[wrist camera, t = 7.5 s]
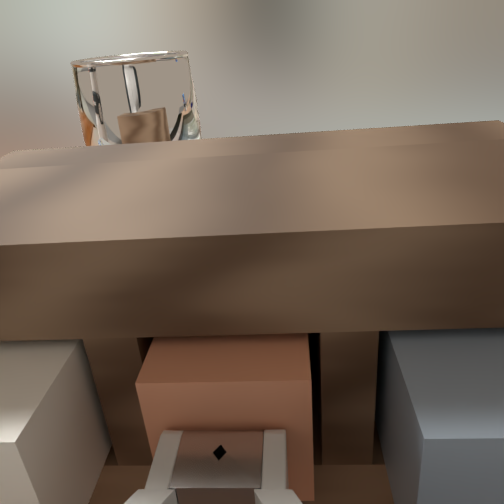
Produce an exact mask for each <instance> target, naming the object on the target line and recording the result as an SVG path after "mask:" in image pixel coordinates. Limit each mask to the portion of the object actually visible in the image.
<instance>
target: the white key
mask: <svg viewBox="0 0 504 504" xmlns="http://www.w3.org/2000/svg"><path fill="white" fill-rule="evenodd" d="M111 446H112V441H111V438H110V434H109V431H108V427H107V424H106V420H105V417H104V413H103V410H102V406H101V403H100V399H99V396H98V392H97V388H96V385H95V381H94V378H93V374H92V371H91V367H90V364H89V360H88V357H87V353H86V350H85V346H84V343H83V339H64V340H28V341H0V504H88V503H89V501H90V498H91V496H92V493H93V491H94V488H95V486H96V483H97V481H98V478H99V476H100V473H101V471H102V468H103V466H104V463H105V461H106V458H107V456H108V453H109V451H110V448H111Z"/></svg>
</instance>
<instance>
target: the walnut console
mask: <svg viewBox="0 0 504 504" xmlns="http://www.w3.org/2000/svg"><path fill="white" fill-rule="evenodd" d="M469 328H504V123H503V122H501V121H498V120H496V121H480V122H465V123H450V124H434V125H418V126H402V127H386V128H369V129H353V130H338V131H321V132H307V133H306V132H305V133H290V134H274V135H258V136H243V137H226V138H211V139H194V140H178V141H162V142H147V143H131V144H115V145H99V146H84V147H68V148H51V149H35V150H19V151H13V152H11V153H9V154H7V155H5V156H3V157H1V158H0V341H28V340H64V339H83V343H84V346H85V350H86V353H87V357H88V360H89V364H90V367H91V371H92V374H93V378H94V381H95V385H96V388H97V392H98V396H99V399H100V403H101V406H102V410H103V413H104V417H105V420H106V424H107V427H108V431H109V434H110V438H111V441H112V446H111V448H110V451H109V453H108V456H107V458H106V461H105V463H104V466H103V468H102V471H101V473H100V476H99V478H98V481H97V483H96V486H95V488H94V491H93V493H92V496H91V498H90V501H89V503H88V504H124V503H125V502H126V501H127V500H128V499H129V498H130V497H131V496H132V495H133V494H134V493H135V492H136V491H137V490H138V489H145V485H146V482H147V479H148V475H149V472H150V468H151V465H152V462H153V458H152V453H151V449H150V445H149V441H148V436H147V432H146V428H145V424H144V419H143V415H142V411H141V407H140V402H139V398H138V394H137V390H136V385H135V382H136V380H137V377H138V375H139V373H140V370H141V368H142V365H143V363H144V360H145V358H146V355H147V353H148V350H149V348H150V345H151V343H152V340H153V338H154V337H175V336H212V335H248V334H285V333H308V344H309V357H310V369H311V385H312V424H313V463H314V501H301V502H302V503H303V504H394V501H393V496H392V492H391V488H390V483H389V479H388V475H387V470H386V466H385V462H384V457H383V453H382V449H381V444H380V440H379V436H378V431H377V427H376V423H375V400H376V381H377V362H378V342H379V331H396V330H432V329H469Z"/></svg>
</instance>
